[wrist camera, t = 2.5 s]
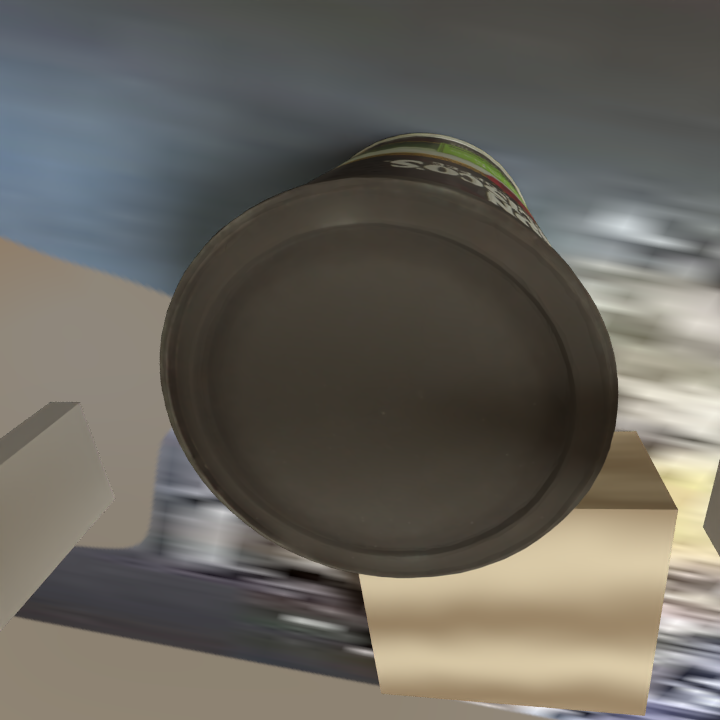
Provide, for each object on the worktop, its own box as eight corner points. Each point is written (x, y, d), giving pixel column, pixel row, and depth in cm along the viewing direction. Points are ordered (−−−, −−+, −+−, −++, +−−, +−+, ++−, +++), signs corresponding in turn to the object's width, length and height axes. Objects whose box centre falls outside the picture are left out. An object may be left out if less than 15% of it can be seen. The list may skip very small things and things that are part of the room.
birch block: (365, 433, 30) (346, 506, 24) (634, 427, 27) (678, 509, 21) (392, 604, 36) (381, 693, 30) (614, 615, 33) (644, 715, 27)
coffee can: (406, 73, 21) (333, 42, 9) (583, 243, 23) (735, 421, 10) (266, 260, 26) (85, 417, 13) (422, 389, 27) (395, 635, 15)
